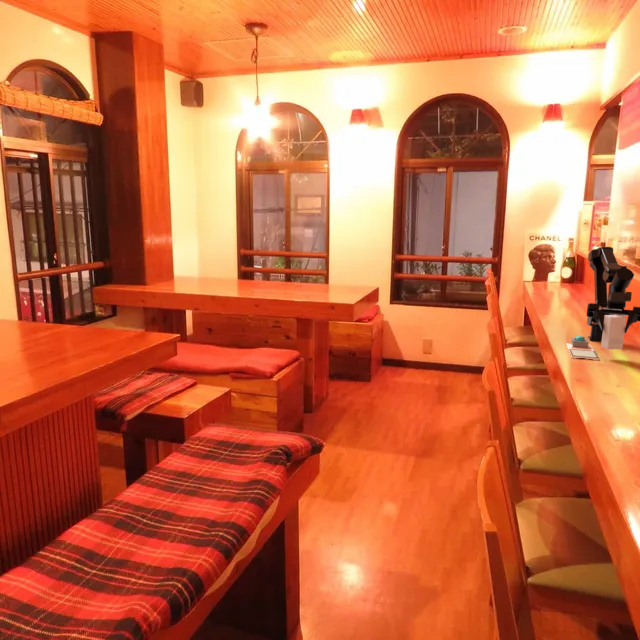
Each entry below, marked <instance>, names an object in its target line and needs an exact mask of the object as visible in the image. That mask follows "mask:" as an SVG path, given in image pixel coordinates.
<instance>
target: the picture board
mask: <svg viewBox="0 0 640 640" xmlns="http://www.w3.org/2000/svg"><path fill="white" fill-rule="evenodd" d="M566 345H567V347H566V349H567V348H568V349H567V350H569V351H568V353H569V352H570V353H569V355H570V354H571V356H570V358H571V357H576V358H586V359H585V360H588V359H593V360H592V361H599V360H600V358H599V356H598V354H597V353H596V351H595V349H594V348H593V346H592V345H591V344H589V339H587V338H584V341H576V337H571V341H570V343H567V342H566V344H565V346H566ZM576 358H575V359H576Z"/></svg>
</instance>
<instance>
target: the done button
mask: <svg viewBox="0 0 640 640" xmlns="http://www.w3.org/2000/svg"><path fill="white" fill-rule="evenodd" d="M575 338H576V341H584V339H586V338H585V336H583V335H576V336H575Z"/></svg>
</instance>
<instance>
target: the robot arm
mask: <svg viewBox="0 0 640 640" xmlns="http://www.w3.org/2000/svg"><path fill="white" fill-rule="evenodd" d="M587 255H588V256H587V260H588V263H589V267H590V268H591V270H593V274H594V275H593V279H594V302H593V303H591V302H590V303H589V302H588V303H587V308H586V310H587V311H586V317H587V319H586V324H587V325H588V326H589V327H590V334H589V336H587V338H588V341H589V342H602V334H603V325H604V316H605V315H622V316H625V317H627V319H626V326H625V334H627V332H628V330H629V329H630V328H631V326H632V325H633V323H637V322H640V306H634V305H633V306H632V310H631V309H625V308H626V303H627V302H632V291H627V289H628V287H629V286H630V285H631V283H632V281H633V278H634V276H635V274H634V272H633V271H632V270H631V269H629V268H627V266H626V265H621V264H619V263H618V261H617V258H616V256H615V254H614V247H612V246H601V247H600V246H599V247H598V248H596V249H592V250H590V252H588V254H587ZM608 284H609V285H608Z"/></svg>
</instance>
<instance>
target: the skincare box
mask: <svg viewBox="0 0 640 640" xmlns="http://www.w3.org/2000/svg"><path fill="white" fill-rule="evenodd" d="M627 319H628V316H626V315H605V316H604V325H603V334H602V341H600V344H601V345H600V346H601V348H603V349H605V350H622V349H624V340H625V334H626V333H625V327H626V323H627Z"/></svg>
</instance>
